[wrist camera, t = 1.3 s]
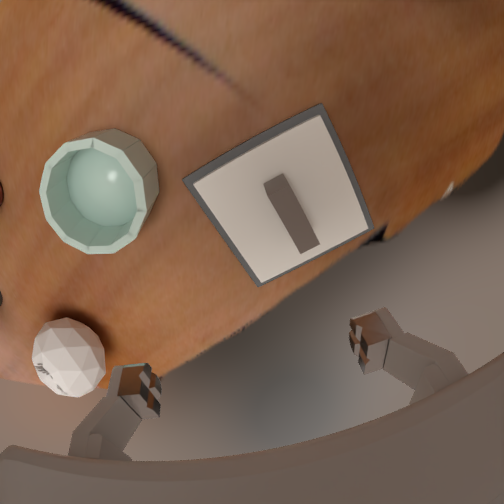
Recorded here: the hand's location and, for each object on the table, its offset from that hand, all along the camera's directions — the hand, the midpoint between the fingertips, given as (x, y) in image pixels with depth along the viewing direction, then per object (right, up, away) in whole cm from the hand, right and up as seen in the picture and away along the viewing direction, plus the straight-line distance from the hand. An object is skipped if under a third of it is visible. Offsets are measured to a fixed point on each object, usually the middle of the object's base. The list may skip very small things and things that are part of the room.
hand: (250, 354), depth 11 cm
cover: (+4, +10, +24) cm, 26 cm away
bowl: (-17, +12, +21) cm, 30 cm away
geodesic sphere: (-30, -10, +34) cm, 47 cm away
